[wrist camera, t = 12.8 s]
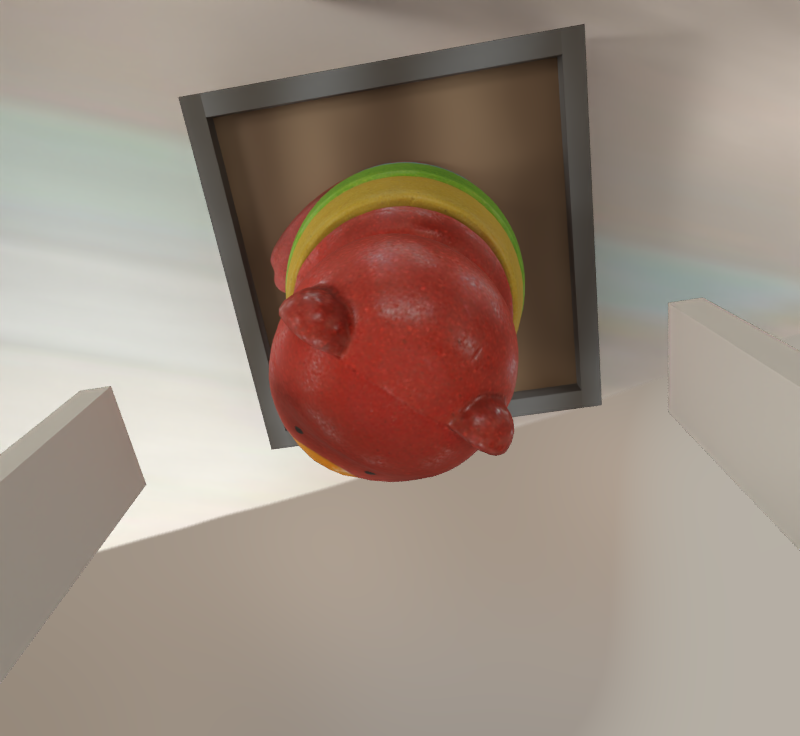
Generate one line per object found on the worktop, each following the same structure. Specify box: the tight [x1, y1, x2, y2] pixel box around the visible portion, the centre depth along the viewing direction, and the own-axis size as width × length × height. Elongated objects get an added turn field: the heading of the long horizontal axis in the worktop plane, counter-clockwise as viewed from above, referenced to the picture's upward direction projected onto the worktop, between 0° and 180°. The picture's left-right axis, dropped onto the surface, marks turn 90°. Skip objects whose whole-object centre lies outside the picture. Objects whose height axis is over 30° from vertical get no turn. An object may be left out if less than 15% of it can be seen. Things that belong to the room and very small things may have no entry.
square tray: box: [179, 24, 602, 449], centre depth 32 cm, size 18×18×5 cm
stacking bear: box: [269, 161, 525, 482], centre depth 22 cm, size 11×10×18 cm
